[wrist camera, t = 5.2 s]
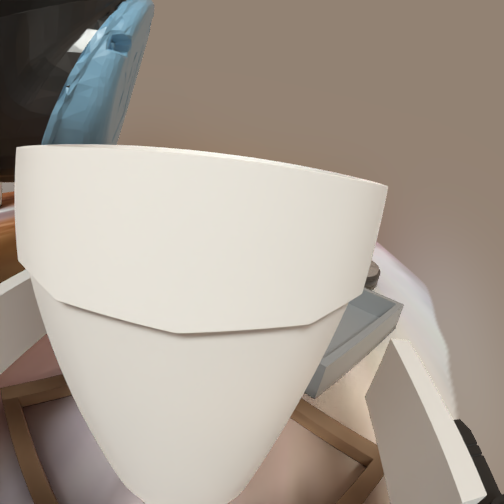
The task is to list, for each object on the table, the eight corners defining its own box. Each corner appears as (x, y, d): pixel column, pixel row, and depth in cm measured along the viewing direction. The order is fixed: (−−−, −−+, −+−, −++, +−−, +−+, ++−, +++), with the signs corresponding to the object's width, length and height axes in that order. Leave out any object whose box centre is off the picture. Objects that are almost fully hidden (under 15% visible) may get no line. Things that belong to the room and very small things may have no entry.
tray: (182, 303, 26) (184, 276, 26) (286, 276, 36) (290, 256, 36) (314, 398, 17) (326, 367, 16) (395, 328, 27) (403, 304, 26)
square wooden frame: (4, 398, 11) (0, 387, 11) (208, 340, 22) (209, 331, 22) (147, 654, 2) (145, 656, 1) (390, 464, 12) (397, 455, 12)
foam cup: (198, 375, 18) (222, 153, 14) (319, 465, 12) (423, 194, 8) (56, 427, 11) (10, 145, 7) (162, 581, 5) (45, 155, 2)
